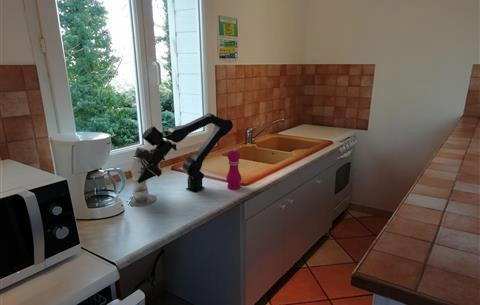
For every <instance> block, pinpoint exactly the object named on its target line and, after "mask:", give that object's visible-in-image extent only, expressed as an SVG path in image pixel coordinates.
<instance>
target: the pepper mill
mask: <svg viewBox="0 0 480 305" xmlns="http://www.w3.org/2000/svg"><path fill="white" fill-rule="evenodd" d="M240 159H241V154H240V152H239V151H237V149H236V148H235V147H232V148H231V150H230V151H229V152H228V153H227V160H228V165H229V169H228V172H227V175H226V178H225V179H226V182H227V186H226V187H227V189H228V190H232V191H236V190H240V189H241V182H242V176H241V173H240V170H239V164H240Z"/></svg>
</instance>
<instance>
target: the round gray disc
mask: <svg viewBox="0 0 480 305" xmlns="http://www.w3.org/2000/svg"><path fill="white" fill-rule="evenodd" d="M129 198H130V199H131V201H130V202H129V204H130V205H131V206H130V207H133V206H135V207H137V208H141V207H140V206H142V207H147V206H149V205H152V204H154V203H155V202H156V201H157V200H158V199H157V198H158V197H157V196H156V195H153V194H150V193H149V197H148V199H147V200H144V201H136V200H135V199H134V197H133V195H132V196H130V197H129ZM130 199H129V200H130ZM127 202H128V201H127ZM129 204H128V205H127V206H129Z"/></svg>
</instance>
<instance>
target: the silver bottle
mask: <svg viewBox="0 0 480 305" xmlns="http://www.w3.org/2000/svg"><path fill="white" fill-rule="evenodd" d="M132 158H133V160H132V161H133V163H132V164H131V166H130V172H131V176H132V181H133V192H132V196H133V197H134V199H135V200H136V201H144V200H147V199H148V197H149V194H150V193H149V189H148V184H147V183H148V182H147V180H145V181H143V182H141V183H138V182H137V181H138V180H139V178H140V176H141V175H142V173H143V172H144V166H145V167H146V165H145V164H144V163H143V162H142V160H143V159H142V157H137V156H136V155H135V154H134V156H132Z"/></svg>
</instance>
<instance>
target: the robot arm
mask: <svg viewBox="0 0 480 305" xmlns="http://www.w3.org/2000/svg"><path fill="white" fill-rule="evenodd" d="M210 124H212V125H214V126H213V130H212V132H211V134H210V135H209V136H208V137H207V138H206V140H205V141H204V143H203V144H202V145H201V147H200V148H199V149H198V151H197V152H196V153H195V154H194V155H193V156H190V155H188V156H187V158H186V159H185V160H184V161H183V164H182V170H183V172H184V173H185V174H186V175H187V187H186V188H185V190H186V191H190V192H193V193H198V192H200V191H202V190H205V189H206V188H205V186H203V179H204V176H205V173H203V171H201V169H202V166H203V162H204V160H205V159H206V158H207V156H209V154H210V153H211V151H212V150H213V149H214V147H215V146H216V145H217V144H218V142H219V141H220V140H221V138H222V137H225V136H226V135H228V134H229V133H230V132H231V131H232V130H233V128H234V124H233V121H232V120H231V119H228V118H225V117H218V116H216V115H214V114H212V113H206V114H205V115H203V116H201V117H198V118H196V119H194V120H192V121H190V122H187V123H185V124H182V125H176V126H172V127H169V128H168V129H167V130H164V131H159V129H157V128H156V127H155V126H154V125H152V126H151V127H149V128H148V129H146V130H145V131H144V132H143V133H142V135H141V138H142V139H143V140H144V141H146V142H147V143H148V144H150V145H151V146H152V147H154V146H155V147H154V148H151V149H150V150H149V149H145V148H141V147H136V150H135V151H134V156H135V155H136V156H137V157H142V159H143V160H142V162H143V163H144V164H145V165H146V167H145V166H144V172H143V173H142V175H141V176H140V178H139V180H138V181H137V182H138V183H141V182H143V181H145V180H146V181H147V180H150V179H152V178H154V177H158V178H159V177H160V176H161V175H162V174H163V171H162V169H161V168H160V166H159V165H160V164H161V162H162V161H165V160H166V157H167V155H168V154H169V153H170V152H171V150H172V149H173V150H174V151H177V144H178V143H180V142H181V141H183V140H185V139H186V138H187V137H188V136H189V135H190V134H191V133H193V132H196V131H197V130H200V129H202V128H204V127H206V126H208V125H210ZM172 142H173V143H172Z"/></svg>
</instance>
